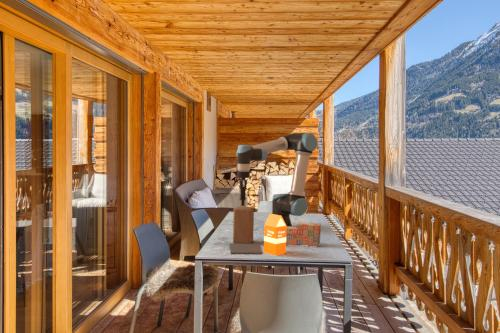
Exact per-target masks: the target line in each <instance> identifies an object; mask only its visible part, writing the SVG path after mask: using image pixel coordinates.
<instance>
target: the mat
mask: <svg viewBox="0 0 500 333" xmlns="http://www.w3.org/2000/svg"><path fill="white" fill-rule="evenodd" d="M229 250H230V251H229V253H230V255H262V254H263V252H262V250H261V248H260V244H259V243H250V244H241V243H229Z"/></svg>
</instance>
